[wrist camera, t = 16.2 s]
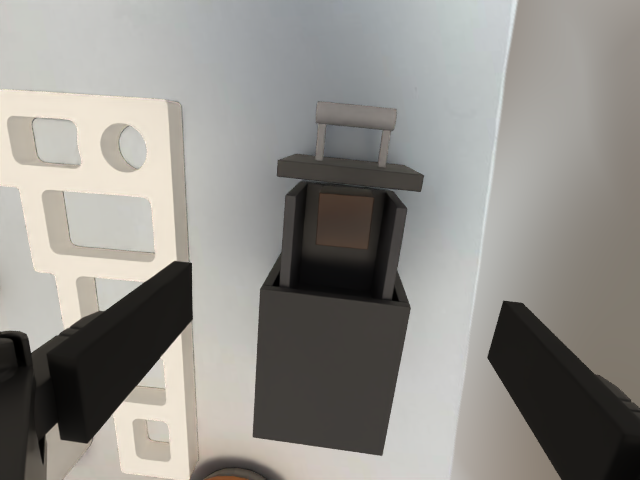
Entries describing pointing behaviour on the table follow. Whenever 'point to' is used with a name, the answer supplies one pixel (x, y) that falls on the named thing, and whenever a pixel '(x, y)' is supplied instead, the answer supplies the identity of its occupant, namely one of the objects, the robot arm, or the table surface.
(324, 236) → the block
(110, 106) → the holder
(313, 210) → the drawer
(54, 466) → the mug
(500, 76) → the table surface
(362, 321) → the cabinet
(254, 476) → the pie
